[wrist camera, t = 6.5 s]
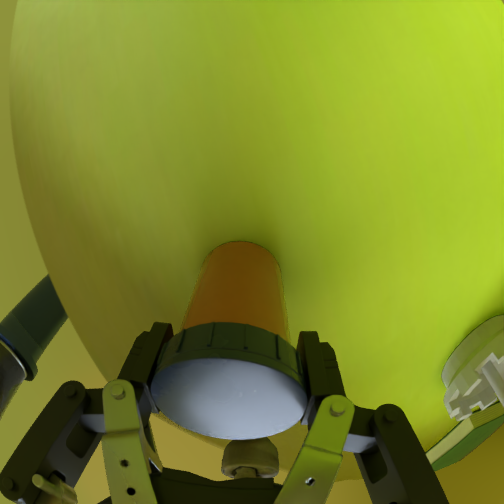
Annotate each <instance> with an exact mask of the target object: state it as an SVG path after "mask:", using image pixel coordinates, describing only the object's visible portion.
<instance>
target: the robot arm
mask: <svg viewBox="0 0 504 504" xmlns="http://www.w3.org/2000/svg"><path fill="white" fill-rule="evenodd" d="M173 336H174V334H173V329H172V325H171V324H170V323H162V322H154V324H153V326H152V328H151V330H150V332H146V331H144V332H143V333H141V334H140V335H139V336H138V337H137V338H136V340H135V342H134V344H133V346H132V348H131V350H130V352H129V354H128V356H127V359H126V361H125V363H124V365H123V367H122V369H121V371H120V374H119V376H118V378H117V379H116V380H113V381H110V382H109V383H107V384H106V385H105V387H104V388H101V389H85V387H84V386H83V384H82V383H80V382H78V381H68V382H66V383H64V384H63V385H61V387H60V388H59V389H58V391H57V392H56V393H55V394H54V396H53V397H52V399H51V400H50V401H49V402H48V404H47V405H46V407H45V408H44V409H43V411H42V412H41V413H40V415H39V416H38V418H37V419H36V420H35V422H34V423H33V425H32V426H31V427H30V429H29V430H28V432H27V433H26V435H25V436H24V438H23V439H22V441H21V442H20V444H19V445H18V447H17V448H16V450H15V451H14V453H13V454H12V456H11V458H10V459H9V460H8V462H7V464H6V465H5V467H4V468H3V470H2V472H1V473H0V491H1V493H2V494H3V495H4V496H5V497H6V498H7V499H9V500H11V501H13V502H15V503H16V504H77V503H78V501H77V495H76V492H75V491H74V487H75V485H76V483H77V481H78V480H79V478H80V476H81V474H82V472H83V471H84V469H85V467H86V465H87V463H88V462H89V460H90V458H91V456H92V454H93V453H94V451H95V449H96V448H97V446H98V444H99V442H100V441H102V450H103V457H104V463H105V469H106V475H107V480H108V485H109V490H110V495H111V496H110V497H108V498H106V499H104V500H103V501H101V502H100V503H98V504H325V503H326V500H327V498H328V496H329V493H330V491H331V489H332V486H333V484H334V481H335V479H336V476H337V473H338V471H339V468H340V465H341V462H342V459H343V455H342V451H350V452H353V453H354V455H355V458H356V461H357V463H358V466H359V469H360V471H361V474H362V476H363V479H364V482H365V484H366V487H367V489H368V493H369V495H370V498H371V500H372V503H373V504H449V502H448V500H447V498H446V495H445V493H444V491H443V489H442V487H441V485H440V482H439V480H438V478H437V476H436V474H435V472H434V470H433V468H432V466H431V464H430V462H429V460H428V458H427V456H426V454H425V452H424V450H423V448H422V446H421V444H420V442H419V440H418V438H417V436H416V434H415V432H414V431H413V429H412V427H411V425H410V423H409V421H408V419H407V417H406V416H405V414H404V412H403V411H402V409H401V408H399V407H398V406H396V405H394V404H383V405H381V406H379V407H378V408H377V409H376V410H373V409H366V408H361V407H358V406H356V405H354V404H353V403H352V402H351V401H350V400H349V399H348V398H347V397H346V394H345V391H344V387H343V383H342V379H341V375H340V371H339V368H338V363H337V361H336V355H335V352H334V349H333V348H332V347H331V346H330V345H329V343H328V342H319V337H318V333H317V331H300V334H299V339H298V344H297V349H296V351H299V352H300V357H301V359H302V362H303V366H304V372H305V379H306V386H307V394H308V404H307V407H306V410H305V413H304V415H303V417H302V418H301V419H300V420H301V425H304V424H308V434H307V436H306V438H305V440H304V443H303V445H302V447H301V449H300V451H299V453H298V455H297V458H296V460H295V462H294V464H293V466H292V468H291V470H290V472H289V473H288V475H287V477H286V479H285V481H284V483H283V485H281V484H277V483H274V478H248V477H245V478H239V479H233V480H225V481H213V480H210V479H207V478H204V477H201V476H199V475H196V474H193V473H191V472H187V471H181V470H175V469H170V468H165V467H163V466H162V463H161V461H160V459H159V456H158V453H157V449H156V446H155V441H154V438H153V434H152V429H151V425H150V421H149V417H150V414H151V412H152V413H157V414H159V411H160V410H159V409H158V407H157V406H156V404H155V402H154V400H153V397H152V394H151V390H150V386H151V381H152V378H153V376H154V373H155V370H156V367H157V361H158V359H159V356H160V353H161V351H162V348H163V345H164V343H165V342H166V343H167V342H168V341H169V340H170V339H171V338H172V337H173ZM27 375H28V371H27V368H26V366H25V364H24V363H23V361H22V360H21V358H20V357H19V356H18V354H17V353H16V352H15V351H14V350H13V349H12V347H11V346H10V345H9V344H8V343H6V342H5V341H4V340H3V339H2V338H0V420H1V418H2V416H3V414H4V412H5V411H6V409H7V407H8V405H9V403H10V402H11V400H12V398H13V397H14V395H15V393H16V392H17V390H18V388H19V386H20V385H21V383H22V382H23V380H24V379H25V378H26V377H27Z"/></svg>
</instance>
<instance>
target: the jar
mask: <svg viewBox="0 0 504 504" xmlns="http://www.w3.org/2000/svg"><path fill="white" fill-rule="evenodd" d="M211 322H234V323H243V324H249V325H253V326H256V327H259V328H263V329H265V330H268V331H270V332H273V333H274V334H276V335H277V334H278V335H280V337H282V338H283V339H284V340H286V341H287V342H288V343H290V344H291V339H290V331H289V324H288V317H287V309H286V302H285V295H284V289H283V282H282V275H281V269H280V266H279V264H278V262H277V260H276V259H275V257H274V256H273V255H272V254H271V253H270V252H269V251H267V250H266V249H265V248H263V247H261V246H259V245H257V244H254V243H250V242H243V241H235V242H229V243H226V244H223V245H221V246H219V247H217V248H215V249H214V250H213V251H211V252H210V253H209V255H208V256H207V257H206V258H205V260H204V262H203V264H202V267H201V270H200V272H199V275H198V278H197V281H196V284H195V287H194V289H193V292H192V295H191V298H190V301H189V304H188V307H187V310H186V313H185V316H184V319H183V322H182V325H181V328H180V331H179V332H181V331H182V329H187V328H189V327H193V326H196V325H200V324H205V323H211Z"/></svg>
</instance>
